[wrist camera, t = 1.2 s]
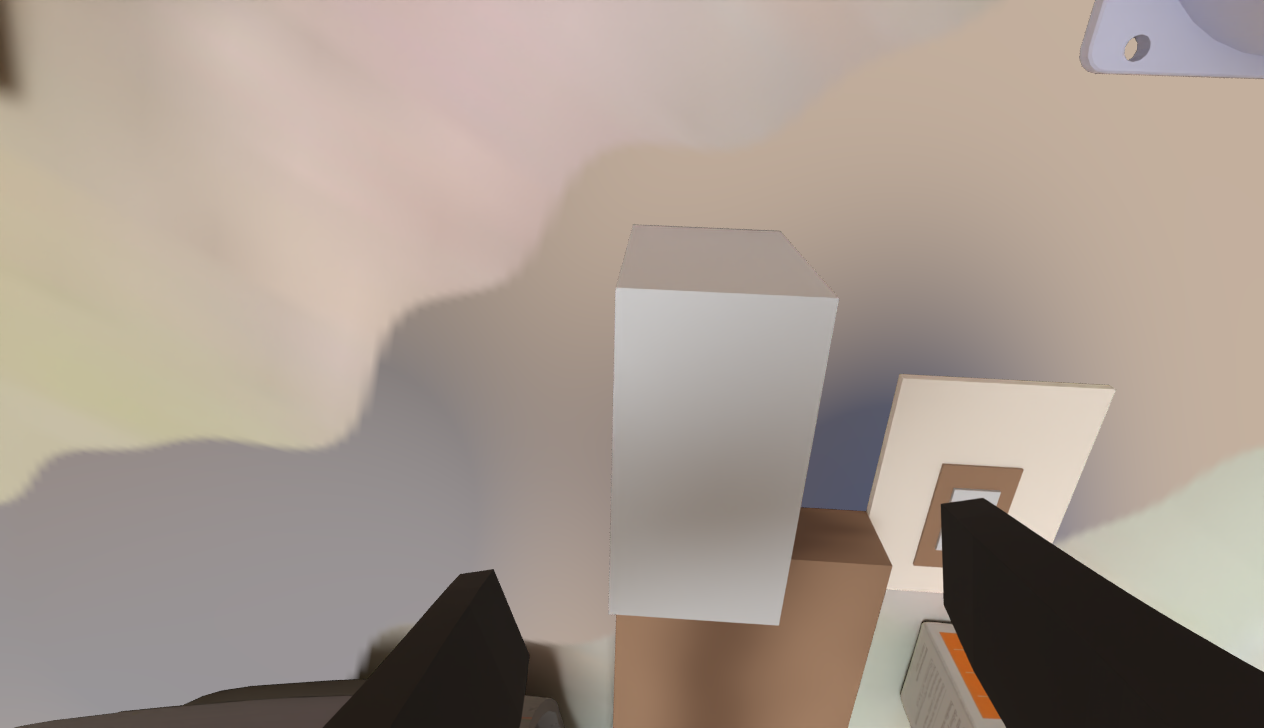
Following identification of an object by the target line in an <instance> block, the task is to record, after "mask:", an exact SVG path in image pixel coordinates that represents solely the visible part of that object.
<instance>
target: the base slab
mask: <svg viewBox="0 0 1264 728" xmlns="http://www.w3.org/2000/svg"><path fill="white" fill-rule="evenodd" d="M891 570H892V564H891V562H890V560H889V557H888V555H887V553H886V551H885V549H884V547H883V545H882V543H881V541H880V539H879V537H878V535H877V533H876V531H875V528H874V526H873V524H872V522H871V520H870V518H869V516H868V514H867V512H866V511H853V510H837V509H819V508H804V507H801V508H800V513H799V519H798V524H797V530H796V535H795V541H794V546H793V551H792V557H791V562H790V568H789V573H788V579H787V584H786V589H785V595H784V600H783V606H782V611H781V616H780V622H779V626H777V625H763V624H748V623H733V622H718V621H703V620H689V619H674V618H659V617H644V616H630V615H616V642H615V676H614V710H613V728H848V725H849V721H850V718H851V714H852V710H853V707H854V703H855V700H856V696H857V692H858V689H859V685H860V682H861V678H862V674H863V671H864V667H865V664H866V660H867V656H868V653H869V649H870V646H871V642H872V638H873V635H874V631H875V628H876V624H877V620H878V617H879V613H880V610H881V606H882V602H883V599H884V595H885V592H886V588H887V584H888V581H889V577H890V574H891Z"/></svg>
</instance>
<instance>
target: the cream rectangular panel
mask: <svg viewBox="0 0 1264 728" xmlns="http://www.w3.org/2000/svg"><path fill="white" fill-rule="evenodd" d="M1115 391H1116V389H1114V388H1113V387H1111V386H1110V385H1100V384H1081V383H1062V382H1043V381H1042V382H1041V381H1023V380H1005V379H985V378H965V377H947V376H927V375H908V374H899V378H898V382H897V386H896V390H895V394H894V399H893V403H892V407H891V411H890V415H889V420H888V423H887V427H886V432H885V436H884V440H883V444H882V449H881V453H880V456H879V461H878V465H877V469H876V473H875V477H874V481H873V485H872V489H871V494H870V498H869V502H868V506H867V510H866V512H867V514H868V516H869V518H870V520H871V522H872V524H873V526H874V528H875V531H876V533H877V535H878V537H879V539H880V541H881V543H882V545H883V547H884V549H885V551H886V553H887V555H888V557H889V560H890V562H891V564H892V570H891V574H890V577H889V581H888V584H887V588H886V589H889V590H905V591H920V592H935V593H943V565H942V533H941V504H943V503H950V502H957V501H964V500H970V499H977V498H985V499H986V500H988V501H989V502H991V503H992V504H994V505H995V506H997V507H998V508H1000V509H1001V510H1003V511H1004V512H1006V513H1007V514H1009V515H1010V516H1012V517H1013V518H1015V519H1016V520H1018V521H1019V522H1020V523H1022V524H1023V525H1025V526H1026V527H1028V528H1029V529H1031V530H1032V531H1034V532H1035V533H1037V534H1038V535H1040V536H1041V537H1043V538H1044V539H1046V540H1047V541H1049V542H1050V543H1053V541H1054V538H1055V536H1056V533H1057V531H1058V529H1059V526H1060V524H1061V521H1062V519H1063V517H1064V514H1065V512H1066V509H1067V507H1068V504H1069V502H1070V500H1071V497H1072V495H1073V492H1074V490H1075V488H1076V485H1077V483H1078V480H1079V478H1080V475H1081V473H1082V471H1083V468H1084V466H1085V463H1086V461H1087V459H1088V456H1089V454H1090V451H1091V449H1092V447H1093V444H1094V442H1095V439H1096V437H1097V434H1098V432H1099V430H1100V427H1101V425H1102V422H1103V420H1104V418H1105V415H1106V413H1107V410H1108V408H1109V405H1110V403H1111V401H1112V398H1113V396H1114V393H1115Z"/></svg>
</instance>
